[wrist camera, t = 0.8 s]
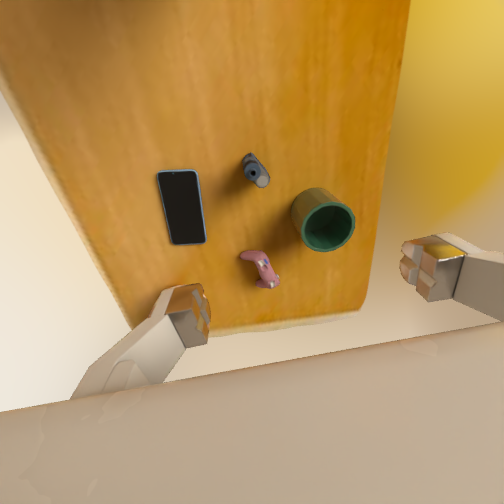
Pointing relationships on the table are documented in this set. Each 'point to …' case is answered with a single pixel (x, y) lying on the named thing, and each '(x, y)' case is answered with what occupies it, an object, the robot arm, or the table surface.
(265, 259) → the video game controller
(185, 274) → the table surface
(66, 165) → the table surface
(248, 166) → the vaping device
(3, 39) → the table surface
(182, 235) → the smartphone
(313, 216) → the pen cup
